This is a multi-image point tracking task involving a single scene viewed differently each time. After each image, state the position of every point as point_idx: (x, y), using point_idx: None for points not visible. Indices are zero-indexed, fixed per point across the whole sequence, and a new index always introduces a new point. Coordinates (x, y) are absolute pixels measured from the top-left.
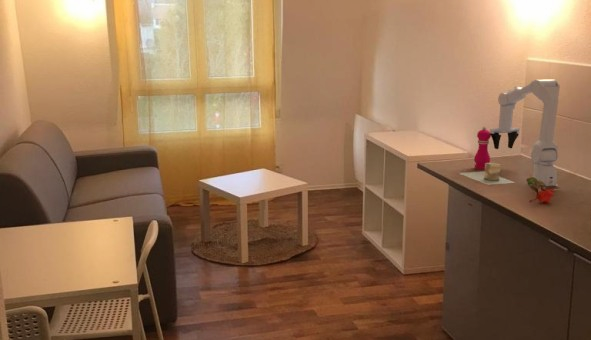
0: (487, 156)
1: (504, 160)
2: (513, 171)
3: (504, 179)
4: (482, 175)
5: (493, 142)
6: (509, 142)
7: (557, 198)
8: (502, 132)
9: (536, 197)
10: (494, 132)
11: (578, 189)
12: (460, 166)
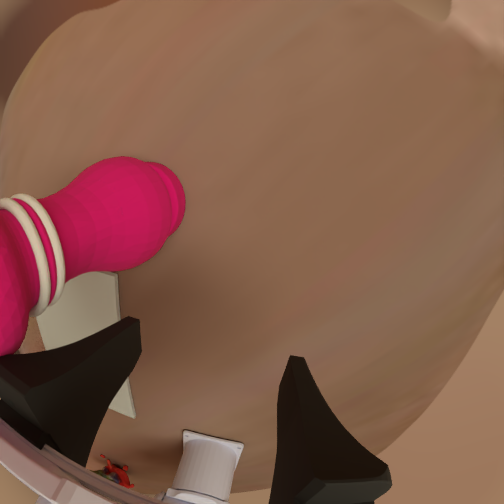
0: (108, 271)
1: (457, 101)
2: (273, 325)
3: (120, 389)
4: (75, 320)
5: (86, 337)
6: (290, 405)
7: (159, 476)
8: (113, 491)
9: (105, 466)
10: (12, 432)
11: (258, 484)
12: (95, 110)
